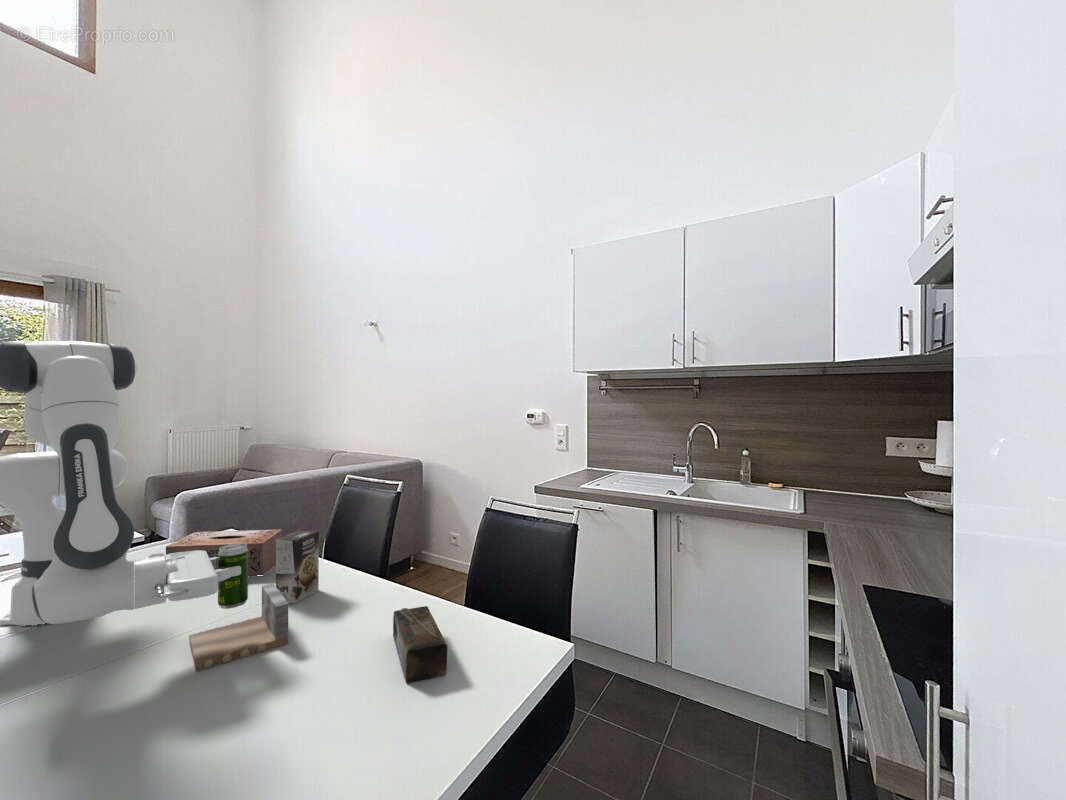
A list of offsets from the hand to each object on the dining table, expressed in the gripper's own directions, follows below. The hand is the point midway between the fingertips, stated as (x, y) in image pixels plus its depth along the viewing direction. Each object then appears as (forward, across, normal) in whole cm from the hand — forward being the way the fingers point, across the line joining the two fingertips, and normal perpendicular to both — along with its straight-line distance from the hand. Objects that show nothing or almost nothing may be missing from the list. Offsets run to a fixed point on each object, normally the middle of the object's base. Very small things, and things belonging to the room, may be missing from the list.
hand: (238, 564), depth 100 cm
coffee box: (+16, +18, +17) cm, 29 cm away
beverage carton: (+27, -28, +17) cm, 43 cm away
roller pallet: (0, 0, +17) cm, 17 cm away
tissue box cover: (+5, +52, +17) cm, 55 cm away
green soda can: (-1, 0, +8) cm, 8 cm away
